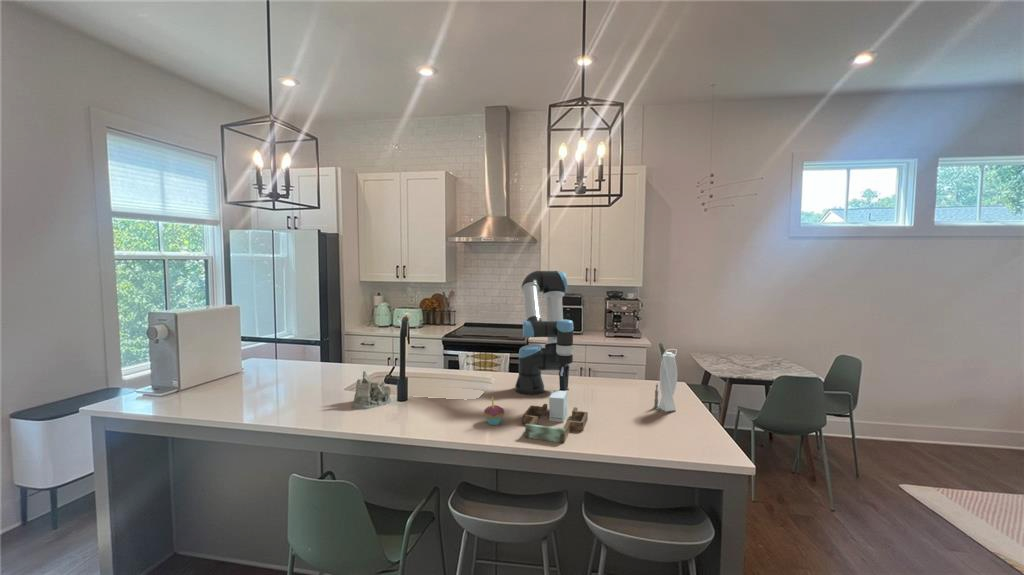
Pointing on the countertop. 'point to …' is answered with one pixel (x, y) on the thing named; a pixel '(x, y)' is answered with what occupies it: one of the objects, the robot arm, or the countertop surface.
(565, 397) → the skincare box
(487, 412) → the cupcake
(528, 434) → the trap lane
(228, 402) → the countertop surface
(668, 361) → the skyscraper
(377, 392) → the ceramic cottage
